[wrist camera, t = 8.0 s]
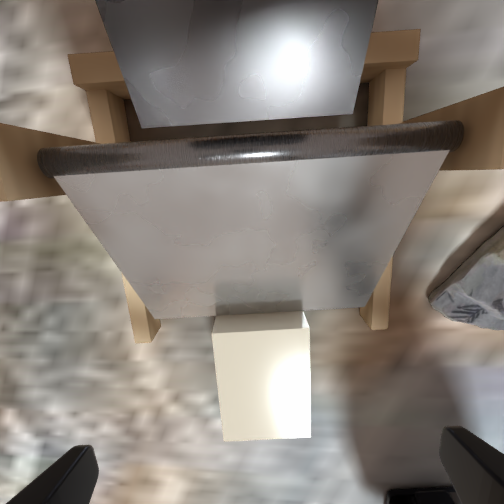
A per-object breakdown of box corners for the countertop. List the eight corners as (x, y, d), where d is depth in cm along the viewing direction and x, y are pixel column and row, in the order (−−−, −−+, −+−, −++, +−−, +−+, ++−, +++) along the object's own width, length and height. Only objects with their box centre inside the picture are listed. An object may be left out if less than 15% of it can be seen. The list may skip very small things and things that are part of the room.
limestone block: (294, 289, 19) (297, 376, 21) (221, 293, 19) (229, 380, 21) (309, 328, 14) (310, 437, 16) (211, 333, 14) (223, 441, 16)
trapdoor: (360, 282, 17) (373, 320, 16) (156, 294, 17) (148, 333, 16) (532, -101, 6) (643, -103, 4) (-56, -55, 6) (-159, -41, 4)
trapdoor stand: (374, 313, 20) (494, 450, 10) (146, 326, 20) (46, 472, 10) (388, 56, 15) (619, -142, 6) (101, 76, 16) (-140, -82, 6)
